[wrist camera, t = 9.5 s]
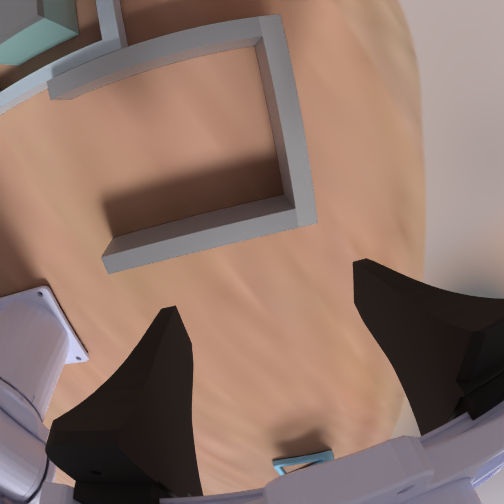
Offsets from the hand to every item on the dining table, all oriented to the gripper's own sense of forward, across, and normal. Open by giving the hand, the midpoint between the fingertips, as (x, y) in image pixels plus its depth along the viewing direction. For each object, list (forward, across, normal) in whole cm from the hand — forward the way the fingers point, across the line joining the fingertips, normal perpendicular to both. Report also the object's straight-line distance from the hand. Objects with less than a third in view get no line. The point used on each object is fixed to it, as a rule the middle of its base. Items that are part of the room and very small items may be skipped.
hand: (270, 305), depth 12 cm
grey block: (+10, +10, -18) cm, 23 cm away
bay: (+10, +3, -6) cm, 12 cm away
